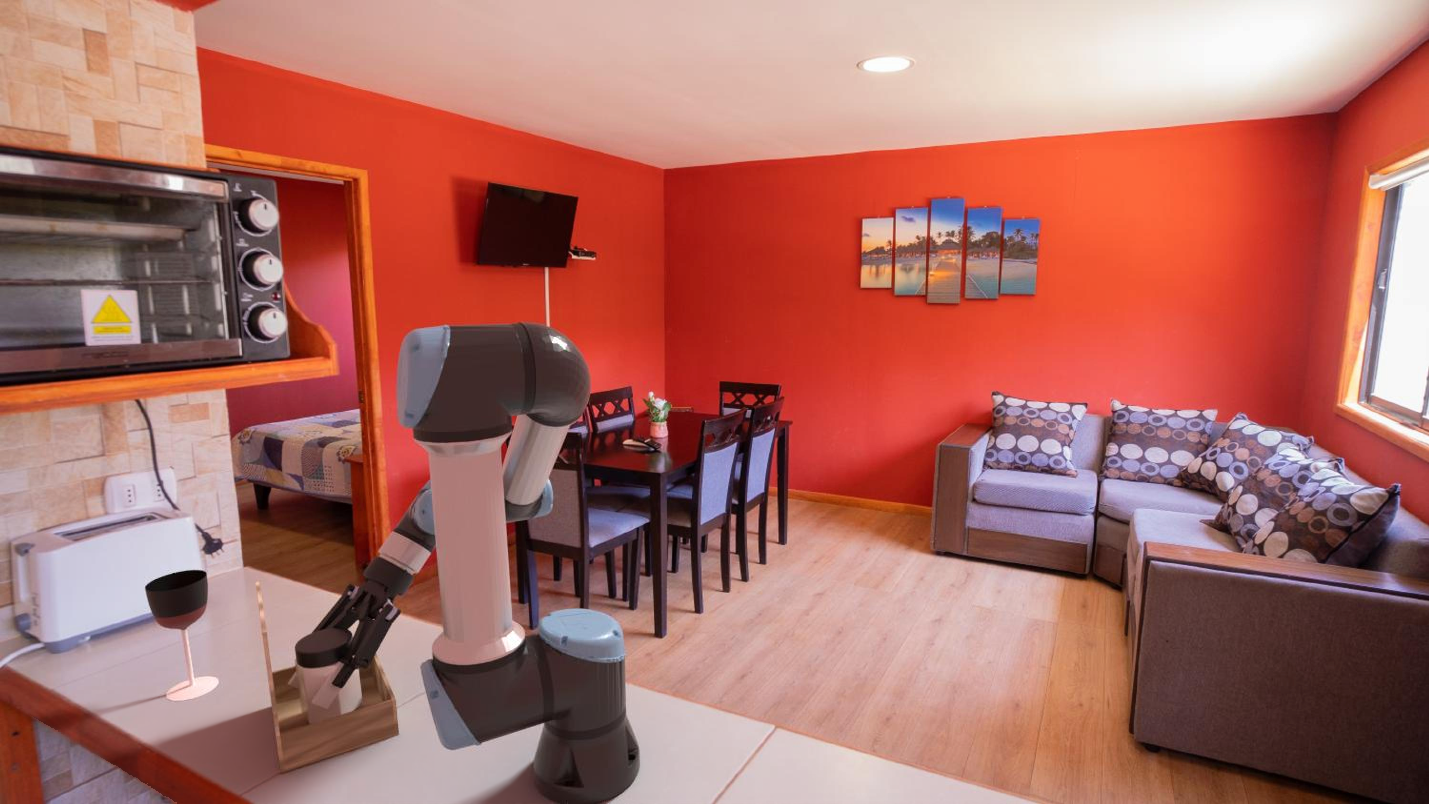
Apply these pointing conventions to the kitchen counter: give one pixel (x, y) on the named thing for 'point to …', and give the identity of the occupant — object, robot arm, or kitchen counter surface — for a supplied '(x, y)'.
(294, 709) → the open wooden box
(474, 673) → the robot arm
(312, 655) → the jar
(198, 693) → the wineglass
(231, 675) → the kitchen counter surface
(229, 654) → the kitchen counter surface
